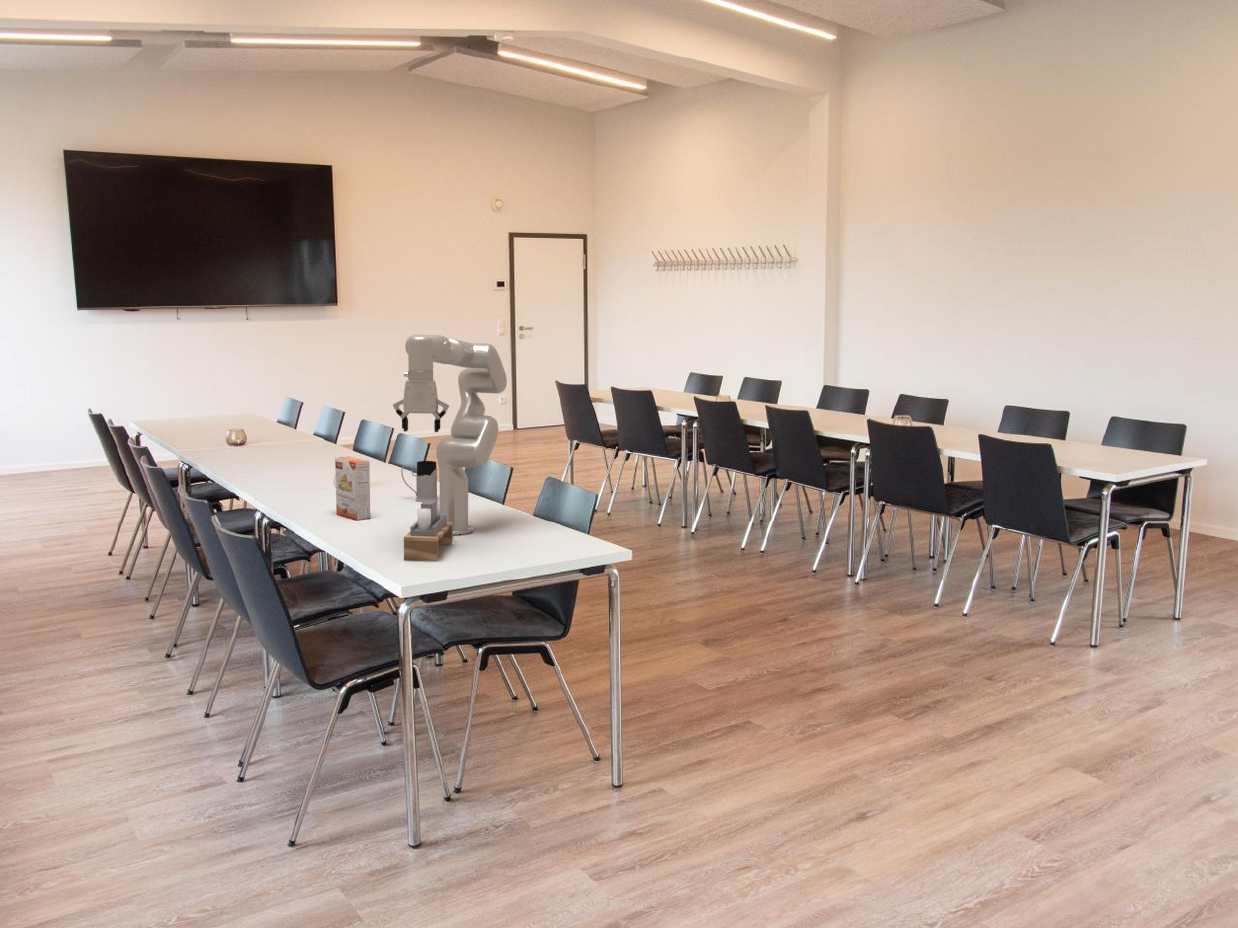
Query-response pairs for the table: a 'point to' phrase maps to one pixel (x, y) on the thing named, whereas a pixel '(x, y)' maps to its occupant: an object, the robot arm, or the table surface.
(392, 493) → the table surface
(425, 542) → the curved wooden channel
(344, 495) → the cracker box
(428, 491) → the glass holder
